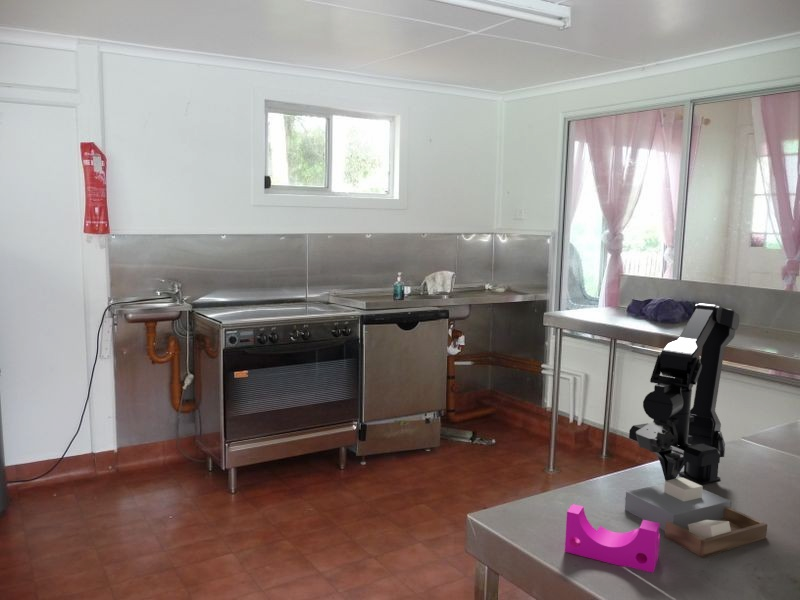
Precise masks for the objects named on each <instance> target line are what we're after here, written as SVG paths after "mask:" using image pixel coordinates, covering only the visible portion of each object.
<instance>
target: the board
mask: <svg viewBox="0 0 800 600" xmlns="http://www.w3.org/2000/svg"><path fill="white" fill-rule="evenodd" d="M664 486H665V482H664V483H660V484H656V485H651V486H645V487H642V488H638V489H637V488H636V489H632V490H628V491H626V492H625V503H624V510H625V511H627V513H630V514H632V515H634V516H636V517H637V518H639V519H641V520H642V521H643V520H647V521H652V522H656V523H659V530H662V531H664V532H665V525H666V522H668V521H669V522H671V523H673V524H675V525H677V526H679V527H681V528H683V529H687V528H688V524H692V523H696V522H700V521H704V520H721V519H723V517H724V507H729V508H731V503H732V501H731V500H730V499H729V498H728V499H727V498H725V497H723V496H720V495H718V494H715V493H713V492H712V491H708V489H707V490H706V489H704V488H702V498H698V499H693V500H689V501H682V500H679V499H677V498H675V497H673V496H671V495H669V494H667V493H664Z"/></svg>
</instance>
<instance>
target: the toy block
mask: <svg viewBox="0 0 800 600" xmlns="http://www.w3.org/2000/svg"><path fill="white" fill-rule="evenodd" d="M565 523H566V524H565V527H566V528H565V540H564V552H565V553H569V554H572V555H576V556H580V557H583V558H589V559H593V560H595V561H601V562H604V563H607V564H612V565H616V566H620V567H623V568H626V567H628V568H633V569H636V570H640V571H644V572H648V573H653V574H654V572H655V569H656V566H657V563H658V559H659V557H660V556H659V555H660V541H661V533H660V528H659V523H656V522H652V521H647V520H643V519H642V521H641V523H640V526H639V528H634V529H633V530H631V531H628V532H616V531H612V530H608V529H607V528H605V527H603V526H601V525H599V527H598V528H597V529H595V527H593V526H592V524H591V523H590V522H589V520H588V518H587V515H586V513H585V506H583V505H579V504H574V503H572V504H571V505H570V507H569V508H568V509H567V511H566V522H565Z"/></svg>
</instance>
